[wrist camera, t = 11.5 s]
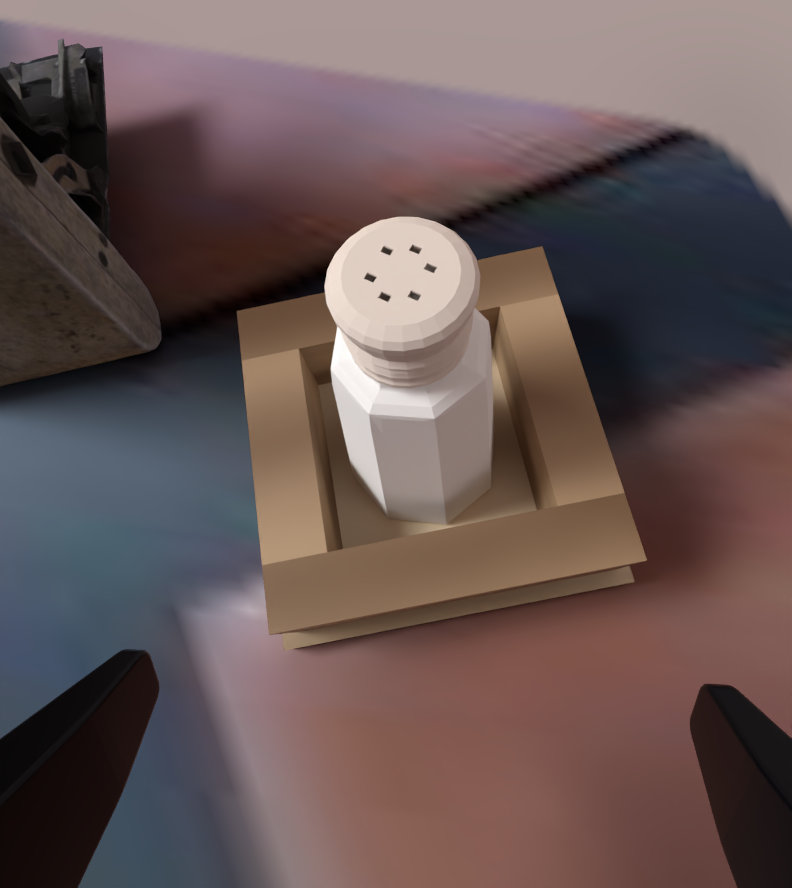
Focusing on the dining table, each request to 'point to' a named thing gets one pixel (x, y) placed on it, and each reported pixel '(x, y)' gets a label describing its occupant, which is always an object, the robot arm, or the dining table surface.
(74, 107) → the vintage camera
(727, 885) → the dining table surface
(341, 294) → the pepper shaker
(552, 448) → the socket holder
